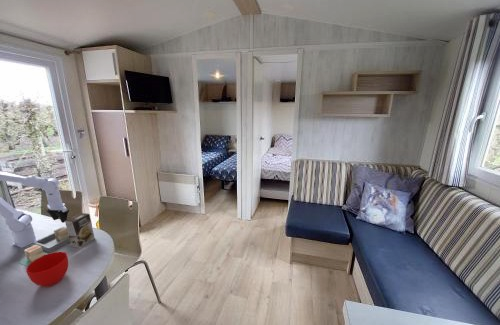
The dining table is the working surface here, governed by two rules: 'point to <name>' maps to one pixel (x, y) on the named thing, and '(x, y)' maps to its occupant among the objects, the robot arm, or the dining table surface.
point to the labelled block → (34, 253)
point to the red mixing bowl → (48, 269)
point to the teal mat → (26, 262)
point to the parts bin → (50, 243)
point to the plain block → (61, 234)
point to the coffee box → (79, 230)
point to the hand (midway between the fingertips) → (60, 220)
